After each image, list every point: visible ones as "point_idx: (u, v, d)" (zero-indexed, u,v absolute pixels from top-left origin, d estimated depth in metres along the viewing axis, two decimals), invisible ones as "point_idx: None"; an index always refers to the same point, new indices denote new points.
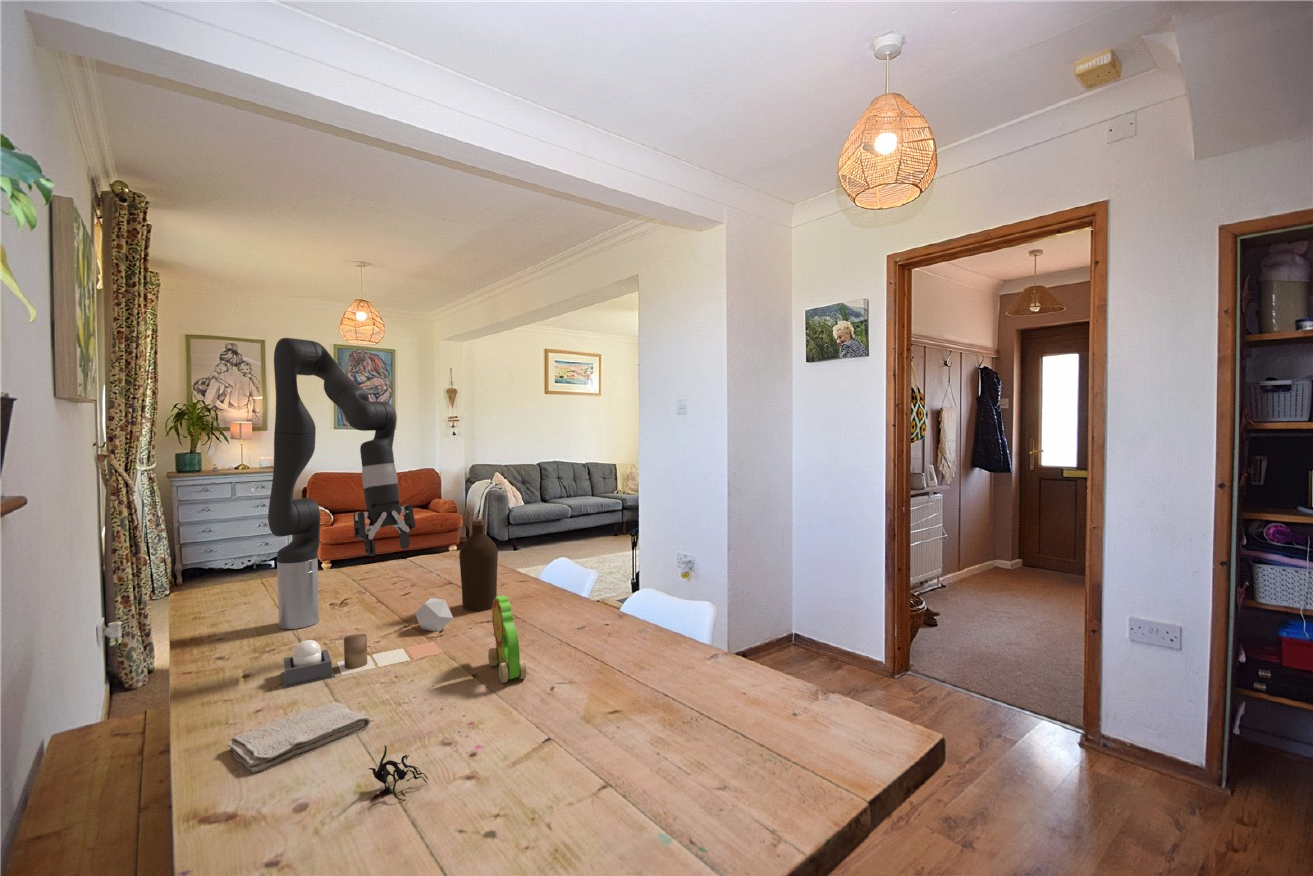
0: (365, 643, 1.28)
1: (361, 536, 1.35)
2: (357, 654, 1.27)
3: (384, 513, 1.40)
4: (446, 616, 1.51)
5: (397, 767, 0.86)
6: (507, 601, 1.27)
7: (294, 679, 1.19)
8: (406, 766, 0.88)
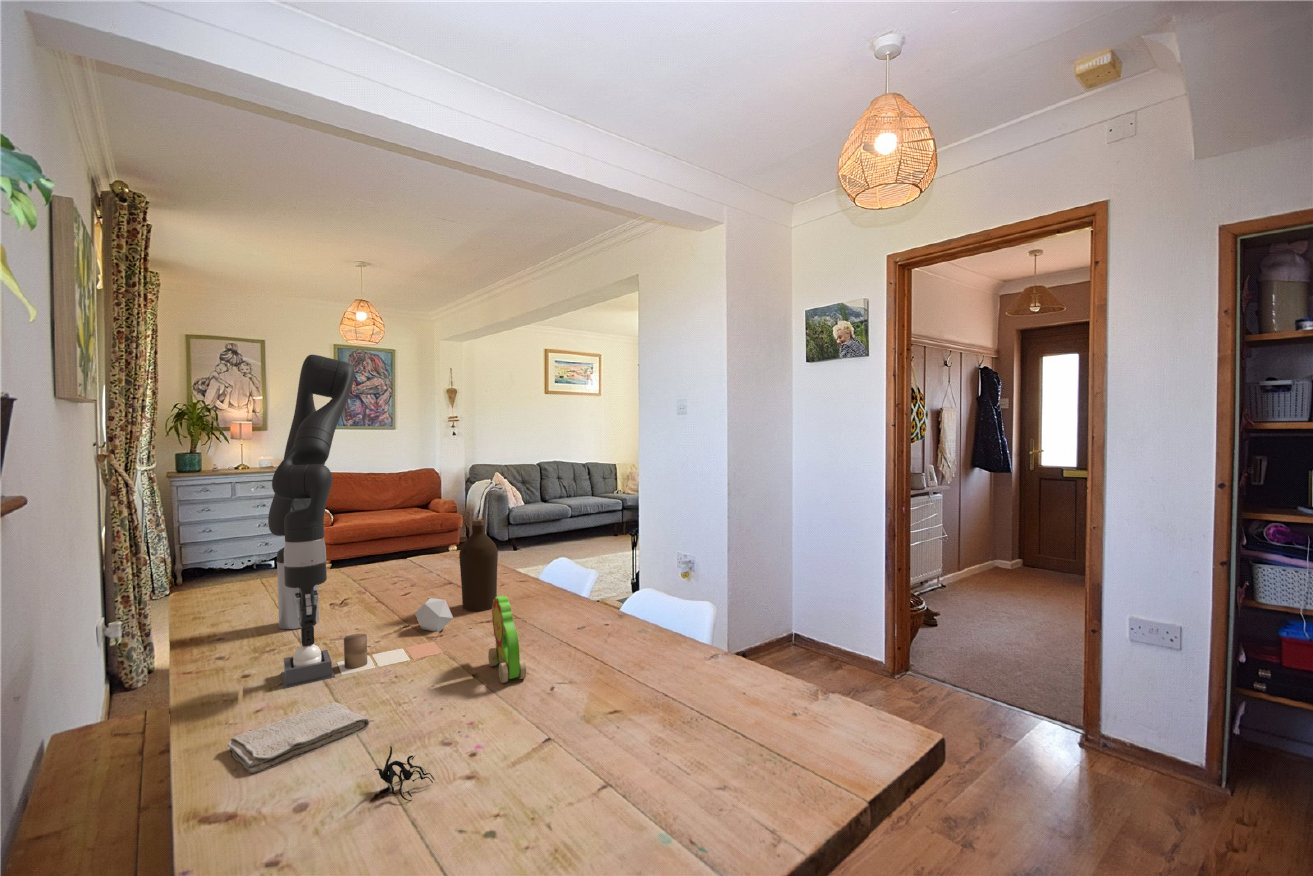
0: (365, 643, 1.28)
1: None
2: (357, 654, 1.27)
3: (294, 595, 1.23)
4: (446, 616, 1.51)
5: (403, 767, 0.86)
6: (507, 601, 1.27)
7: (294, 679, 1.19)
8: (412, 766, 0.88)
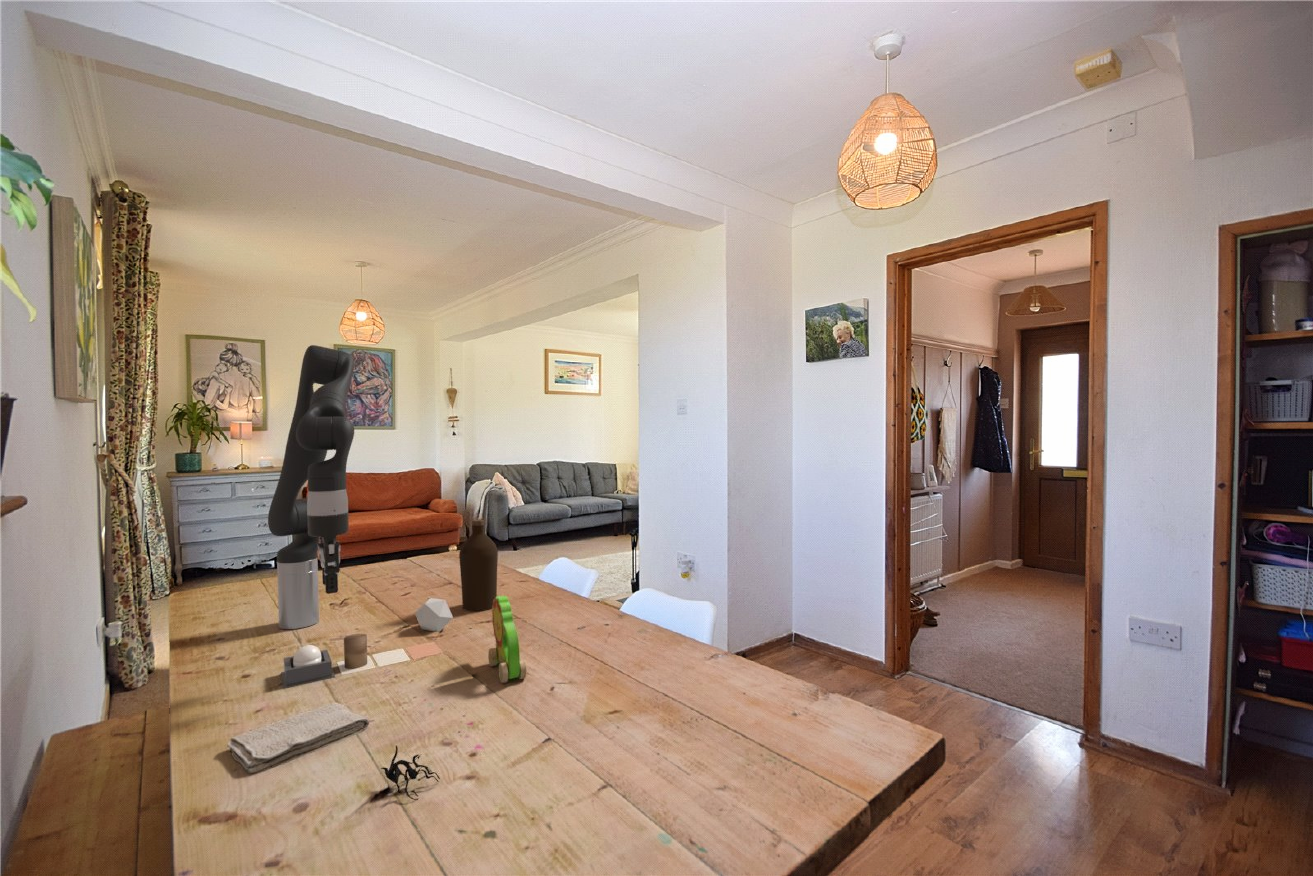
0: (365, 643, 1.28)
1: None
2: (357, 654, 1.27)
3: (318, 545, 1.25)
4: (446, 616, 1.51)
5: (409, 767, 0.86)
6: (507, 601, 1.27)
7: (294, 679, 1.19)
8: (417, 766, 0.88)
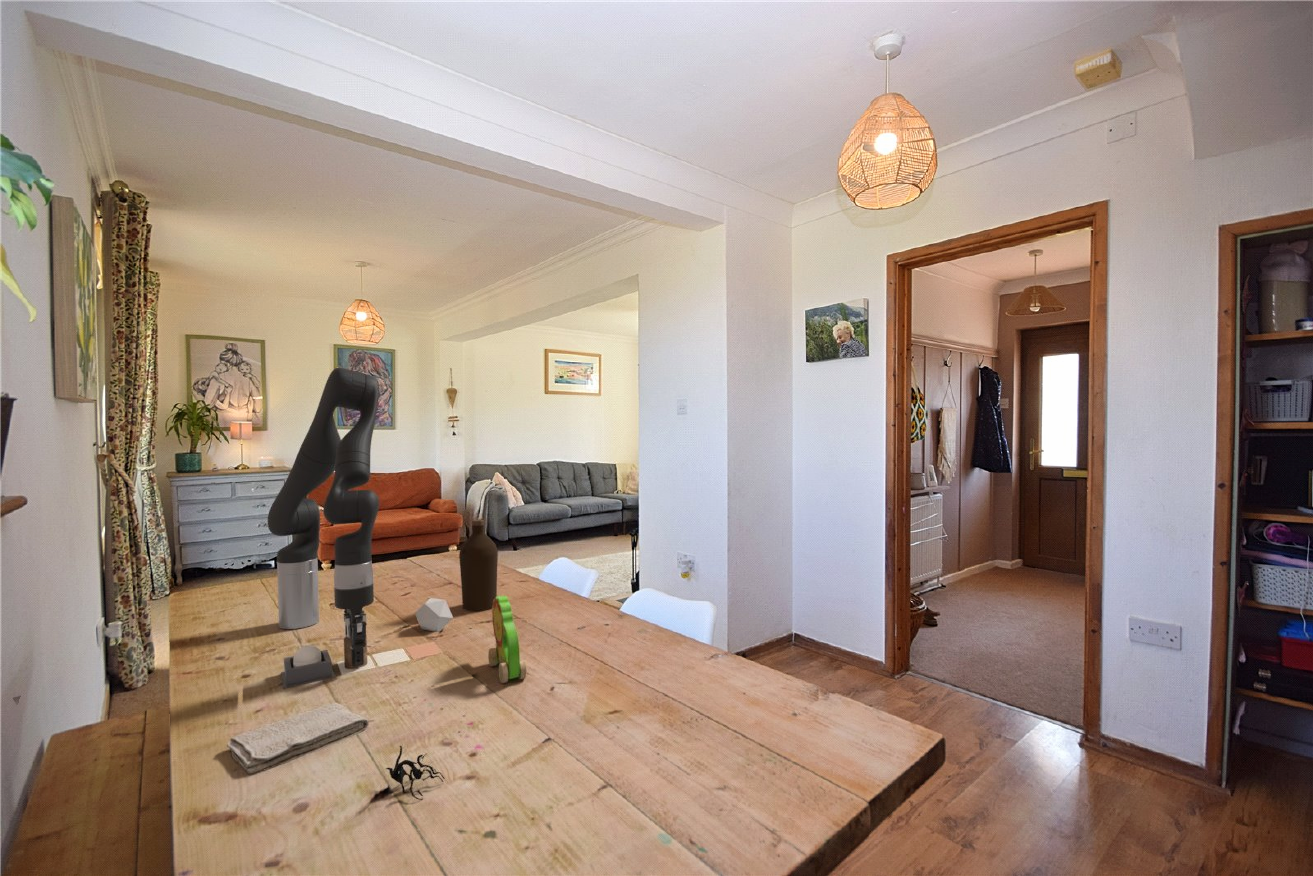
0: None
1: None
2: None
3: None
4: (446, 616, 1.51)
5: (413, 767, 0.86)
6: (507, 601, 1.27)
7: (294, 679, 1.19)
8: (422, 766, 0.88)
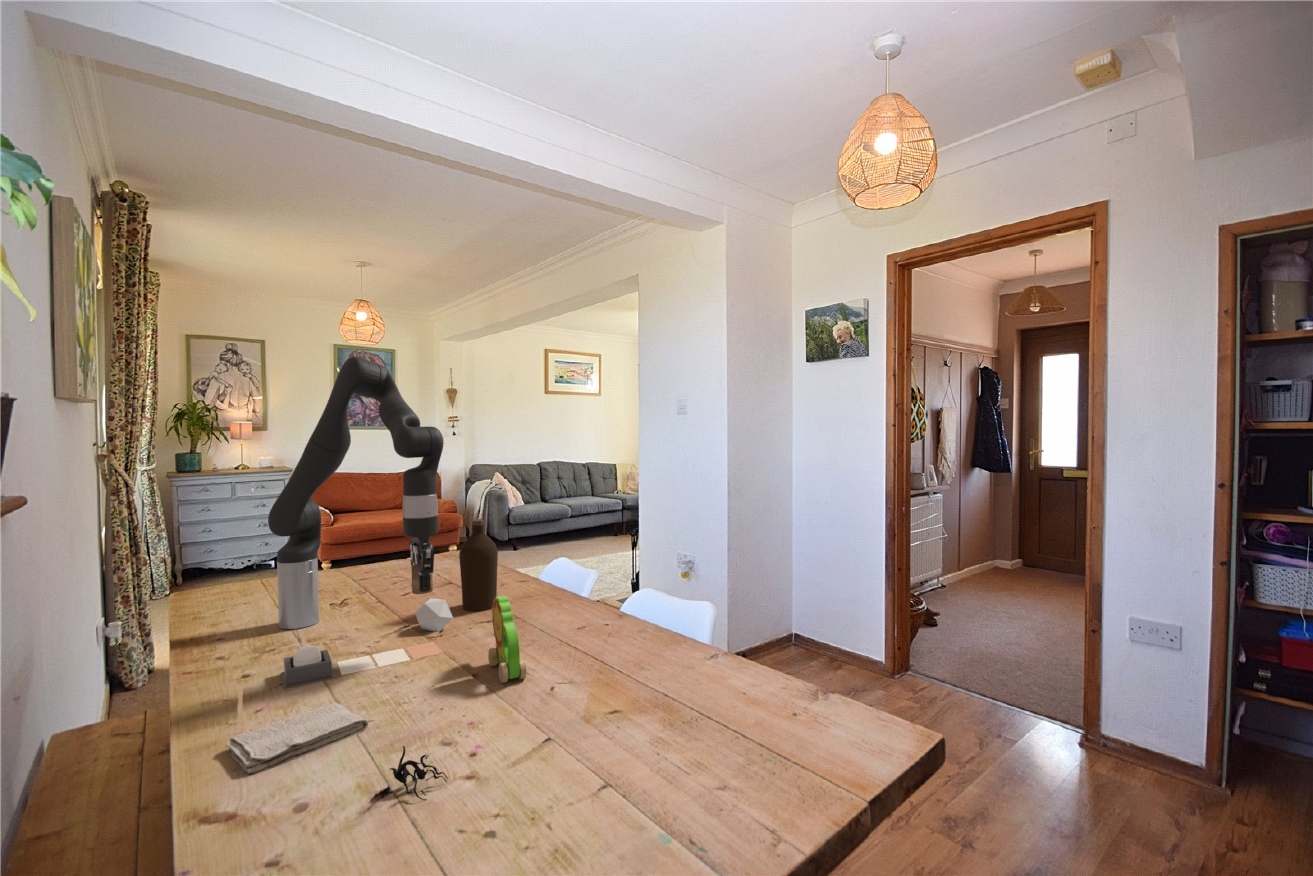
0: None
1: None
2: None
3: (411, 544, 1.36)
4: (446, 616, 1.51)
5: (417, 767, 0.86)
6: (507, 601, 1.27)
7: (294, 679, 1.19)
8: (425, 766, 0.88)
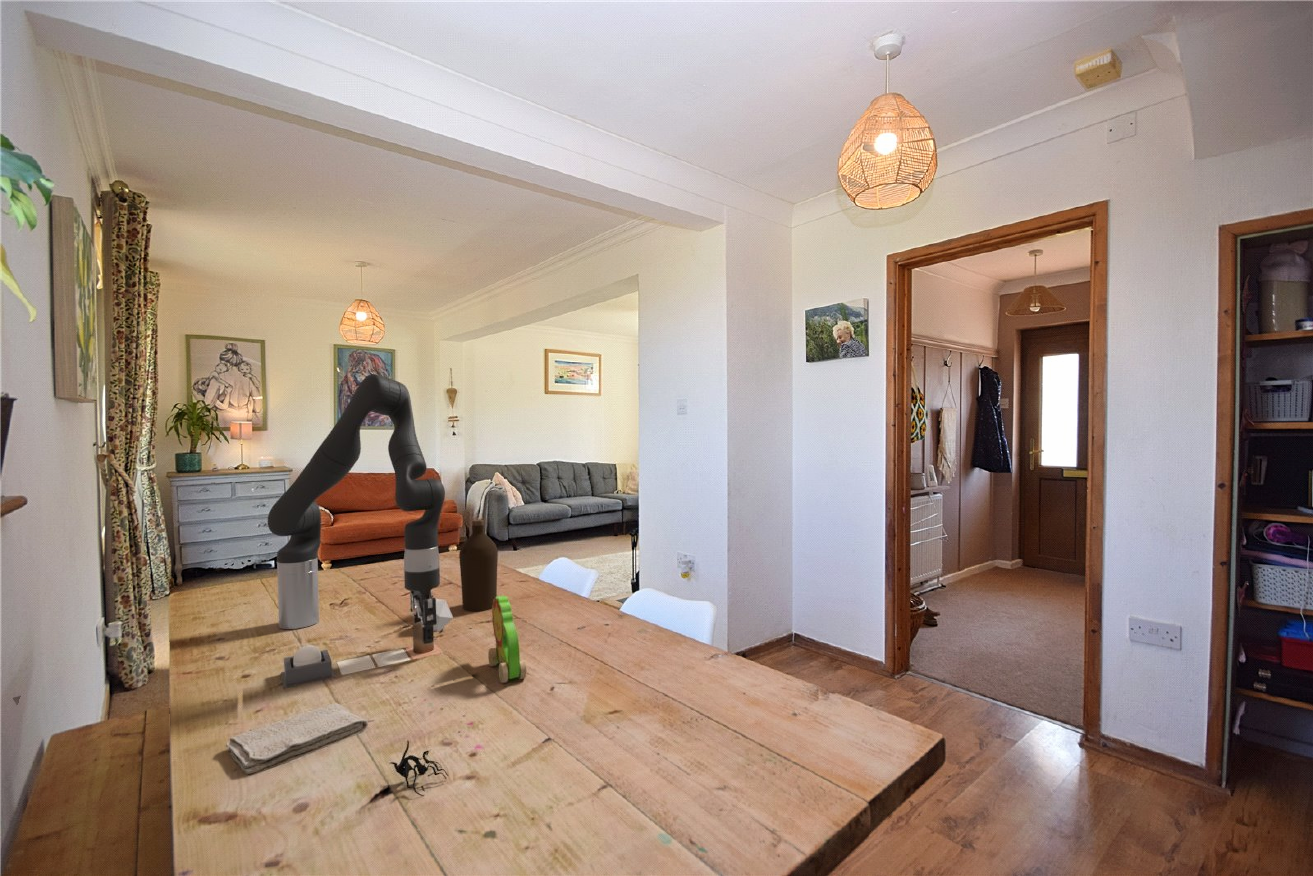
0: None
1: None
2: None
3: (412, 597, 1.36)
4: (446, 616, 1.51)
5: (418, 762, 0.87)
6: (507, 601, 1.27)
7: (294, 679, 1.19)
8: (427, 761, 0.89)
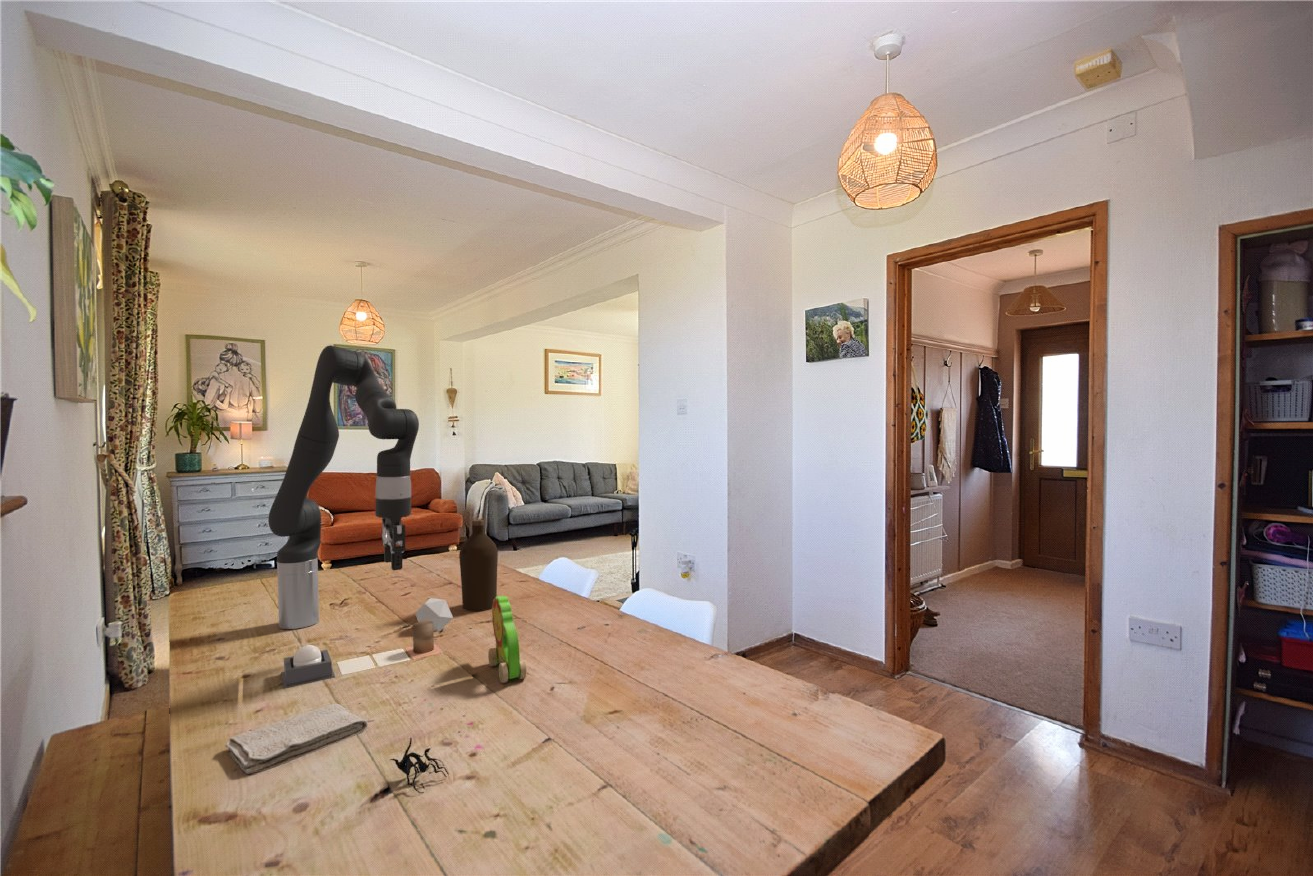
0: (432, 629, 1.36)
1: None
2: (426, 640, 1.35)
3: (383, 525, 1.37)
4: (446, 616, 1.51)
5: (419, 760, 0.88)
6: (507, 601, 1.27)
7: (294, 679, 1.19)
8: (429, 759, 0.90)
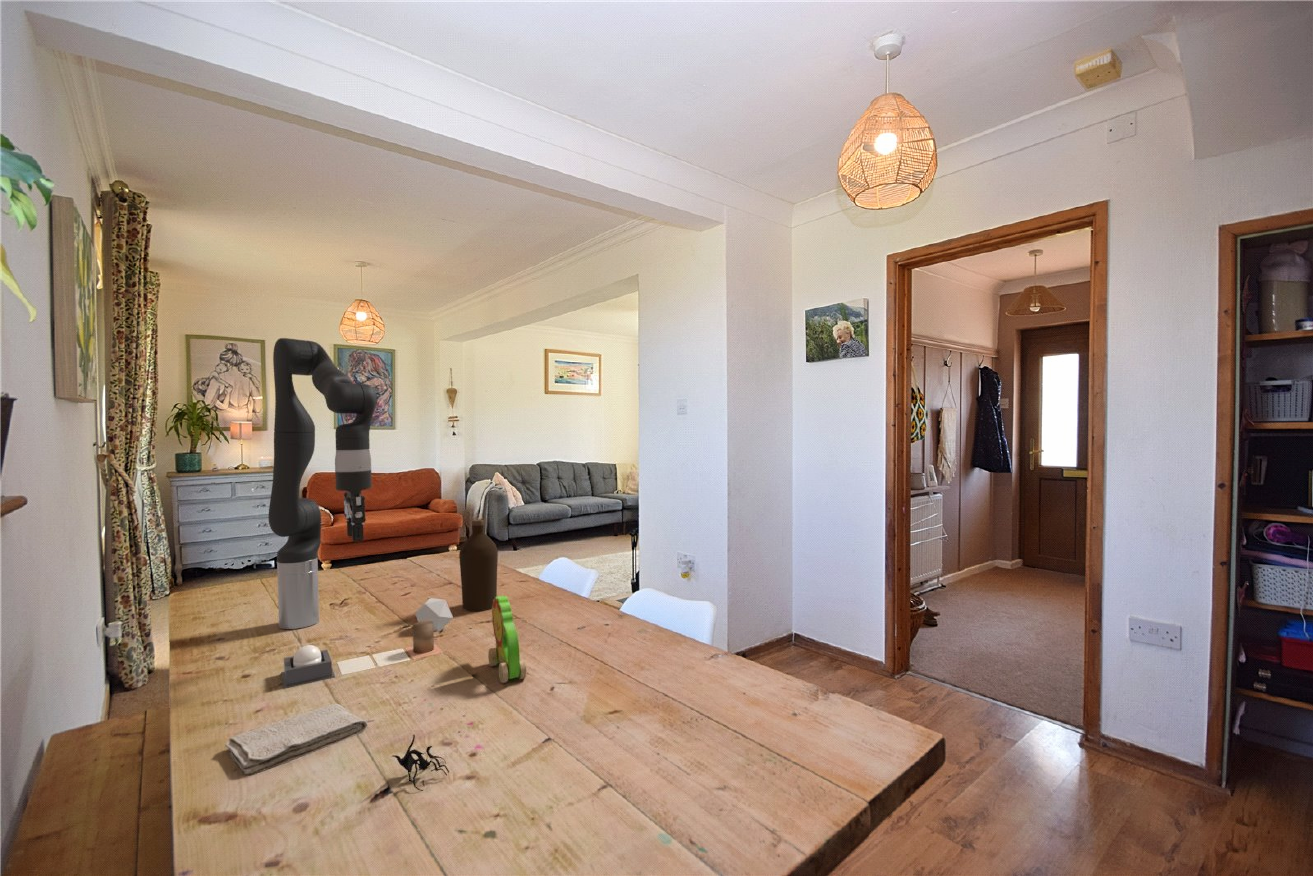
0: (432, 629, 1.36)
1: None
2: (426, 640, 1.35)
3: (344, 499, 1.39)
4: (446, 616, 1.51)
5: (420, 757, 0.88)
6: (507, 601, 1.27)
7: (294, 679, 1.19)
8: (431, 756, 0.91)
